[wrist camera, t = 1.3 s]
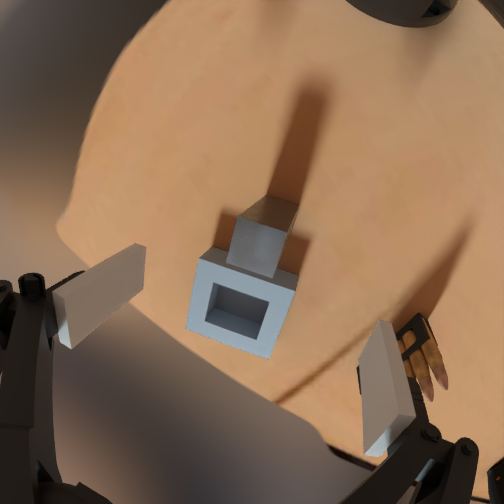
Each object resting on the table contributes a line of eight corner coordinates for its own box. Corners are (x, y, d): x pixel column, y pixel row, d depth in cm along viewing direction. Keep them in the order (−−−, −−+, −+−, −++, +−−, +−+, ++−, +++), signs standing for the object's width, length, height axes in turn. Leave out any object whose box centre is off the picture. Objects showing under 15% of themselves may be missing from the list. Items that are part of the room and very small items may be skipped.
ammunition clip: (418, 311, 31) (450, 378, 20) (427, 320, 31) (459, 386, 20) (356, 368, 35) (360, 441, 24) (365, 375, 35) (372, 447, 24)
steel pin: (266, 194, 31) (237, 216, 20) (299, 205, 30) (287, 232, 20) (257, 226, 32) (225, 262, 22) (289, 236, 32) (272, 278, 21)
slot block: (212, 246, 34) (198, 258, 30) (298, 275, 33) (295, 291, 29) (198, 311, 37) (185, 328, 33) (274, 339, 36) (268, 359, 32)
